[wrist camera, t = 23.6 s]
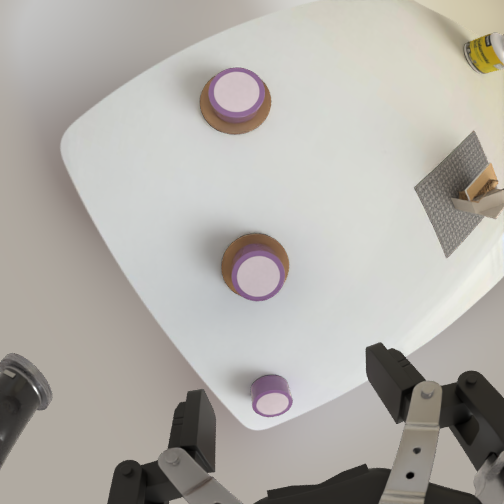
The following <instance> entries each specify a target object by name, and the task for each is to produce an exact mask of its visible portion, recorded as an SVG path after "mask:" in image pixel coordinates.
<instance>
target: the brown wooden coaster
mask: <svg viewBox="0 0 504 504" xmlns="http://www.w3.org/2000/svg"><path fill="white" fill-rule="evenodd" d="M254 243H258V244H264V245H266V246H268V247H270V248H271V249H273V250H274V251H275V253H276V254H277V256H278V257H279V259H280V261H281V263H282V264H283V267H284V270H285V280H286V278H287V275H288V271H289V260H288V256H287V254H286V251H285V250H284V248H283V247H282V245H281V244H280V243H279V242H278V241H277V240H275V239H274V238H272V237H270V236H267V235H264V234H257V233H255V234H247V235H244V236H242V237H240V238H238V239H236V240H235V241H234V242H232V243H231V244H230V245H229V247H228V248H227V250H226V251H225V253H224V256H223V259H222V275H223V278H224V280H225V282H226V284H227V285H228V287H229V288H230V289H231V290H232V291H233V292H235V293H236V294H238V295H240V294H239V293H238V292H237V291H236V290H235V288H234V286H233V283H232V273H231V266H232V260H233V258H234V256H235V254H236V253H237V252H238V251H239V250H240V249H241V248H243V247H244V246H246V245H249V244H254ZM285 280H284V282H285ZM283 284H284V283H283ZM240 296H241V295H240Z"/></svg>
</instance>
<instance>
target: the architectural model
mask: <svg viewBox="0 0 504 504" xmlns="http://www.w3.org/2000/svg"><path fill="white" fill-rule="evenodd" d="M497 184H498V180H497V178H496V175H495V172H494V169H493V167H492V164H491V163H488V161H487V159H486V156H485V154H484V151H483V149H482V147H481V144H480V142H479V140H478V138H477V135H476V133H475V131H473V132H472V133H471V134H470V135H469V136H468V137H467V138H466V139H465V140H464V141H463V142H462V143H461V144H460V145H459V146H458V147H457V148H456V149H455V150H454V151H453V152H452V153H451V154H450V155H449V156H448V157H447V158H446V159H445V160H444V161H443V162H442V163H441V164H440V165H439V166H438V167H436V168H435V169H434V170H433V171H432V172H431V173H430V174H429V175H428V176H427V177H426V178H425V179H424V180H422V181H421V182H420V183H419V184H418V185H417V186H416V187H415V190H416V192H417V194H418V196H419V198H420V200H421V202H422V204H423V206H424V208H425V210H426V212H427V214H428V216H429V218H430V220H431V222H432V225H433V227H434V229H435V231H436V234H437V236H438V238H439V241H440V243H441V245H442V248H443V250H444V253H445V255H446V258H448V257H449V256H450V255H451V254H452V253H453V252H454V251H455V250H456V248H457V247H458V246H459V245H460V244H461V243H462V242H463V241H464V240H465V239H466V237H467V236H468V235H469V234H470V233H471V232H472V231H473V230H474V228H475V227H476V226H477V225H478V224H479V222H480V221H481V220H482V219H483V218H484V216H486V217H490V218H494V219H497V217H498V216H499V215H500V213H501V212H502V211H503V209H504V189H502V190H500V189H497V186H496V185H497Z"/></svg>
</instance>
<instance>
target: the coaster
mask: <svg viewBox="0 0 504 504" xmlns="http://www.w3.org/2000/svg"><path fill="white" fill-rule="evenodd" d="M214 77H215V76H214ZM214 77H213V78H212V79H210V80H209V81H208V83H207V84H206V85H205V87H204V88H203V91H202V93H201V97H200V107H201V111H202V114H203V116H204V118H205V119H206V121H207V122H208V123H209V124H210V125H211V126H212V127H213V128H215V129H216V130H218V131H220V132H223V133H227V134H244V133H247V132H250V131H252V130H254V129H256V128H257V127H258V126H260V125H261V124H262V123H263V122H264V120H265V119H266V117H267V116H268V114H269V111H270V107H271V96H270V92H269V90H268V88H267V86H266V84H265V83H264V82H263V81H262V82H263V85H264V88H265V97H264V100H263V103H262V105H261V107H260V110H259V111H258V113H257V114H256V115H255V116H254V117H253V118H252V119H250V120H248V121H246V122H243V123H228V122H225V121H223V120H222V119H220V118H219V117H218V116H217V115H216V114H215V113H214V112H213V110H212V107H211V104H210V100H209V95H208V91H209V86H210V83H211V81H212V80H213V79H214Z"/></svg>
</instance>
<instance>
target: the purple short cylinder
mask: <svg viewBox="0 0 504 504" xmlns="http://www.w3.org/2000/svg"><path fill="white" fill-rule="evenodd" d="M208 95H209V100H210V104H211V107H212V110H213V112H214V113H215V114H216V115H217V116H218V117H219V118H220V119H222V120H223V121H225V122H228V123H243V122H246V121H248V120H250V119H252V118H253V117H254V116H255V115H256V114H257V113H258V111H259V110H260V107H261V105H262V103H263V100H264V97H265V88H264V85H263V82H262V80H261V79H260V78H259V77H258V76H257V75H256V74H255V73H254V72H252V71H250V70H248V69H244V68H229V69H226V70H224V71H222V72H220V73H219V74H217V75H216V76H215V77H214V79H213V80H212V81H211V83H210V86H209V91H208Z"/></svg>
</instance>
